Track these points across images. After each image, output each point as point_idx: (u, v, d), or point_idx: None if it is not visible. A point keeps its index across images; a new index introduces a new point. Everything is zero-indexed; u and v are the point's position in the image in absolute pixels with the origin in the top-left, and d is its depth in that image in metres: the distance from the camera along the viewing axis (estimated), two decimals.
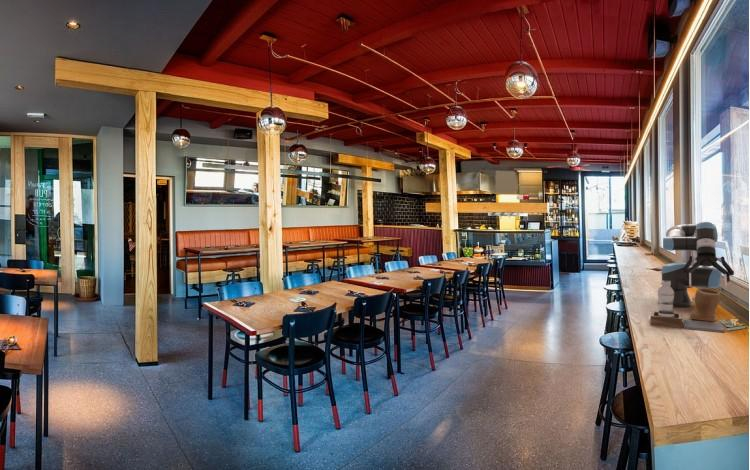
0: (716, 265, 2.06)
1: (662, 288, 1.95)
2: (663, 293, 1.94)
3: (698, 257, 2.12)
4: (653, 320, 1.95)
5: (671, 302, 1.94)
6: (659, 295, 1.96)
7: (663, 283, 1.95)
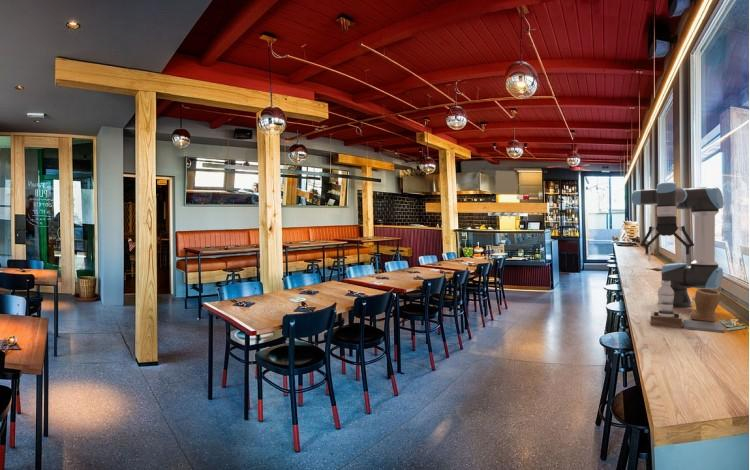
0: (676, 237, 1.92)
1: (662, 288, 1.95)
2: (663, 293, 1.94)
3: (658, 227, 1.96)
4: (653, 320, 1.95)
5: (671, 302, 1.94)
6: (659, 295, 1.96)
7: (663, 283, 1.95)
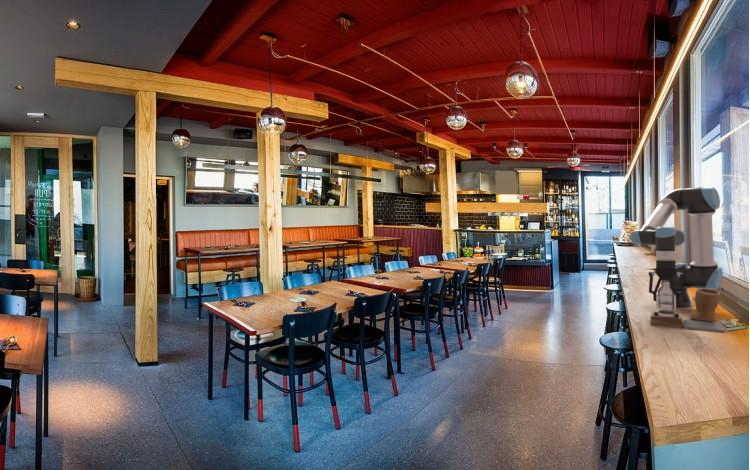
0: (671, 282, 1.94)
1: (662, 288, 1.95)
2: (663, 293, 1.94)
3: (657, 271, 1.97)
4: (653, 320, 1.95)
5: (671, 302, 1.94)
6: (659, 295, 1.96)
7: (663, 283, 1.95)
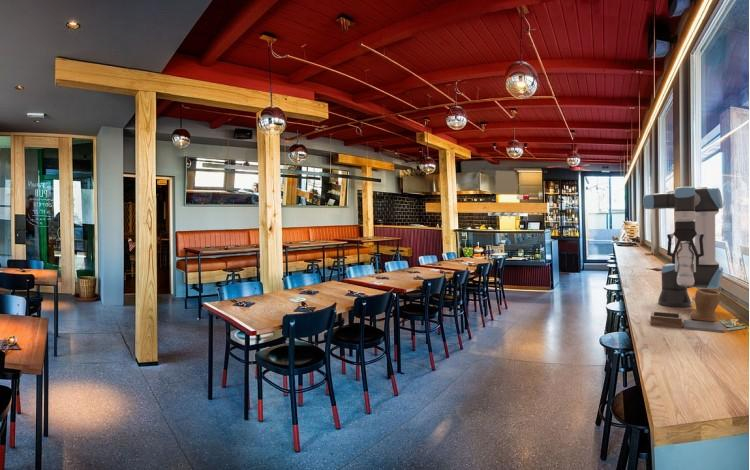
0: (691, 244, 1.89)
1: (681, 250, 1.90)
2: (682, 255, 1.90)
3: (676, 233, 1.92)
4: (653, 320, 1.95)
5: (691, 264, 1.89)
6: (678, 257, 1.91)
7: (682, 245, 1.90)
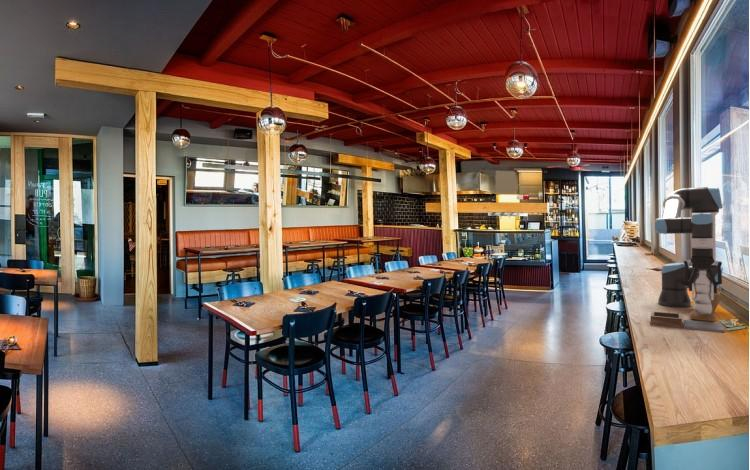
0: (708, 271, 1.86)
1: (699, 277, 1.87)
2: (700, 283, 1.86)
3: (693, 260, 1.89)
4: (653, 320, 1.95)
5: (708, 292, 1.86)
6: (695, 285, 1.88)
7: (700, 272, 1.87)
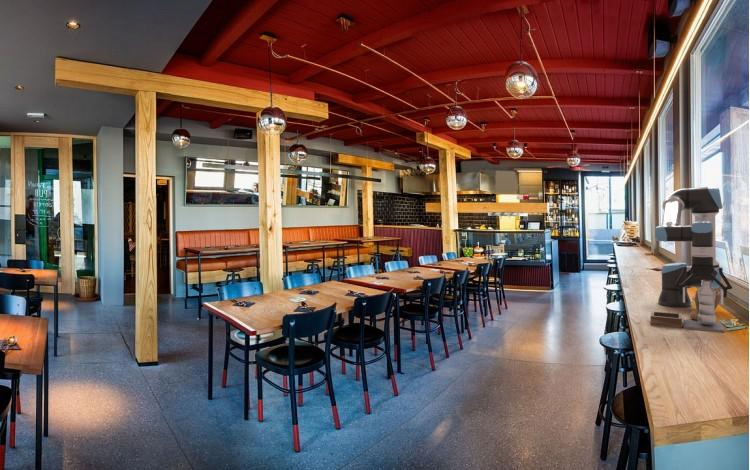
0: (713, 279, 1.85)
1: (703, 288, 1.87)
2: (704, 294, 1.86)
3: (693, 268, 1.89)
4: (653, 320, 1.95)
5: (712, 303, 1.85)
6: (699, 295, 1.87)
7: (704, 283, 1.86)
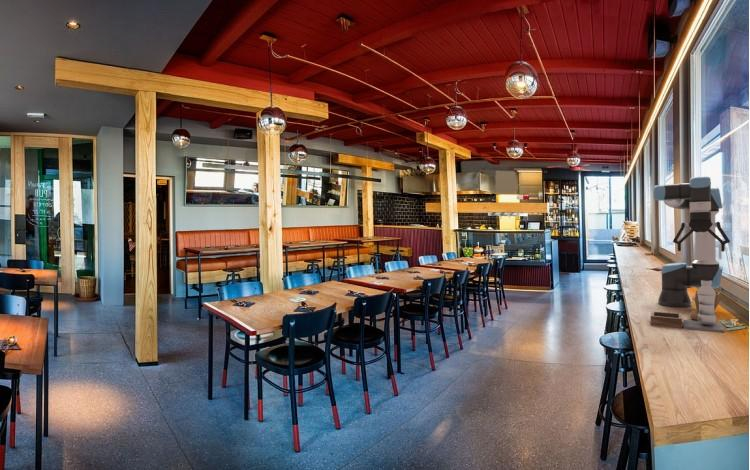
0: (711, 233, 1.85)
1: (702, 288, 1.87)
2: (703, 294, 1.86)
3: (691, 224, 1.89)
4: (653, 320, 1.95)
5: (712, 303, 1.85)
6: (699, 295, 1.87)
7: (704, 283, 1.87)
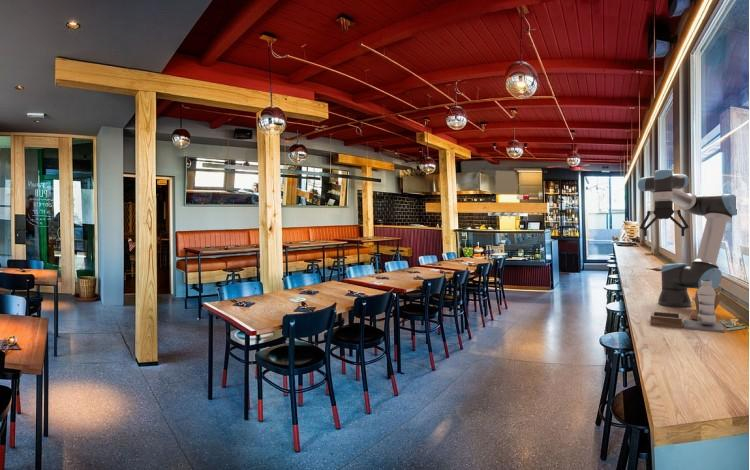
0: (672, 220, 2.07)
1: (702, 288, 1.87)
2: (703, 294, 1.86)
3: (655, 211, 2.11)
4: (653, 320, 1.95)
5: (712, 303, 1.85)
6: (699, 295, 1.87)
7: (704, 283, 1.87)
